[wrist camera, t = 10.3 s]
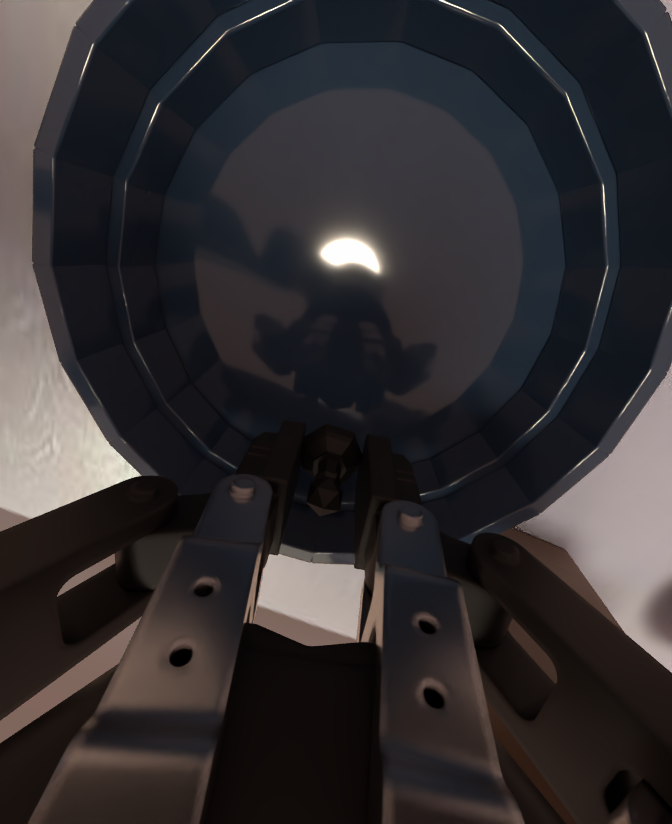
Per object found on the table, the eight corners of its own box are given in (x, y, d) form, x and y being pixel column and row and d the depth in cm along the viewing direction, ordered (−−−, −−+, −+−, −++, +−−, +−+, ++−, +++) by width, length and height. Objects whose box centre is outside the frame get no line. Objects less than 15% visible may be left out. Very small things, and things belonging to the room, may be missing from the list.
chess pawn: (313, 486, 13) (301, 548, 10) (289, 435, 12) (271, 486, 10) (368, 470, 13) (372, 530, 10) (348, 417, 12) (345, 465, 9)
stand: (394, 590, 20) (457, 1125, 8) (455, 503, 17) (682, 1062, 5) (495, 629, 20) (699, 1174, 8) (566, 549, 18) (987, 1137, 6)
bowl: (50, 245, 14) (-101, 240, 9) (433, -153, 10) (503, -517, 5) (313, 536, 18) (299, 630, 14) (650, 349, 14) (791, 393, 10)
